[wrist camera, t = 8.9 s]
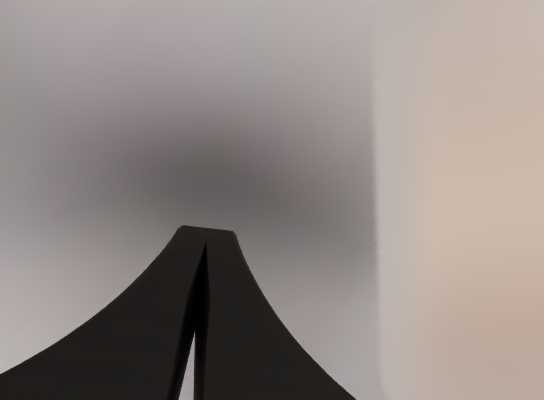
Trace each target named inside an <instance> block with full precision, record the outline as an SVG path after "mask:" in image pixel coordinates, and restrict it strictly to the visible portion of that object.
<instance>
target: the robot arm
mask: <svg viewBox="0 0 544 400" xmlns="http://www.w3.org/2000/svg"><path fill="white" fill-rule="evenodd" d="M194 332H195V356H194V400H356V399H355V398H354V397H353V396H352V395H350V394H349V393H348V392H347V391H346V390H345V389H344V388H342V387H341V386H340V385H339V384H338V383H337V382H336V381H334V380H333V379H332V378H331V377H330V376H329V375H328V374H327V373H326V372H325V371H324V370H323V369H322V368H321V367H320V366H319V365H318V364H317V363H316V362H315V361H314V360H313V359H312V358H311V356H310V355H309V354H308V353H307V352H306V351H305V350H304V349H303V348H302V347H301V346H300V344H299V343H298V342H297V341H296V340H295V339H294V337H293V336H292V335H291V334H290V332H289V331H288V330H287V328H286V327H285V326H284V324H283V323H282V322H281V320H280V319H279V318H278V316H277V315H276V313H275V312H274V310H273V309H272V307H271V306H270V304H269V303H268V301H267V299H266V298H265V296H264V295H263V293H262V291H261V289H260V288H259V286H258V284H257V282H256V280H255V279H254V277H253V275H252V273H251V271H250V269H249V267H248V265H247V263H246V260H245V258H244V256H243V254H242V251H241V249H240V246H239V243H238V240H237V236H236V235H235V233H234V232H233V231H228V230H219V229H211V228H202V227H193V226H185V225H183V226H181V227H180V228H178V229H177V231H176V233H175V234H174V236H173V237H172V239H171V240H170V242H169V243H168V244H167V246H166V247H165V248H164V249H163V251H162V252H161V253H160V254H159V255H158V256H157V258H156V259H155V260H154V261H153V262H152V263H151V264H150V265H149V267H148V268H147V269H146V270H145V271H144V272H143V273H142V274H141V275H140V276H139V277H138V278H137V279H136V280H135V281H134V282H133V283H132V284H131V285H130V286H129V287H128V288H127V289H126V290H124V291H123V292H122V293H121V294H120V295H119V296H118V297H117V298H116V299H114V300H113V301H112V302H111V303H110V304H108V305H107V306H106V307H105V308H104V309H102V310H101V311H100V312H98V313H97V314H96V315H95V316H93V317H92V318H91V319H89V320H88V321H87V322H85V323H84V324H82V325H81V326H80V327H78V328H77V329H75V330H74V331H72V332H71V333H70V334H68V335H67V336H65V337H64V338H62V339H61V340H59V341H58V342H56V343H55V344H53V345H51V346H50V347H48V348H47V349H45V350H43V351H41V352H40V353H38V354H36V355H34V356H33V357H31V358H29V359H28V360H26V361H24V362H22V363H21V364H19V365H17V366H15V367H13V368H11V369H9V370H8V371H6V372H4V373H2V374H0V400H179V395H180V391H181V387H182V383H183V379H184V374H185V370H186V366H187V362H188V358H189V353H190V349H191V345H192V341H193V337H194Z"/></svg>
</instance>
